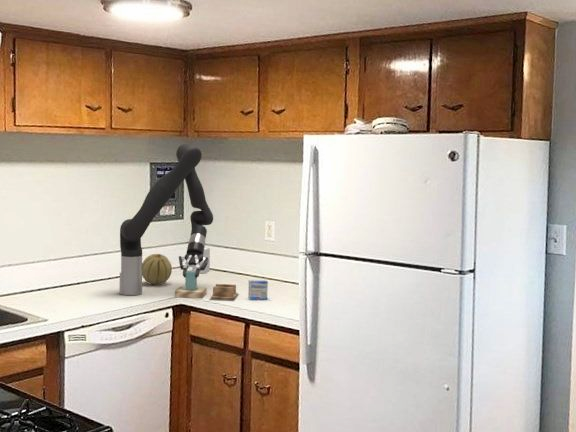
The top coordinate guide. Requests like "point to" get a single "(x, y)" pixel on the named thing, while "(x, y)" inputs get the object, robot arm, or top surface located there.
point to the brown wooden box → (224, 292)
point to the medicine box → (258, 289)
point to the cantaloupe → (156, 269)
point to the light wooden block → (190, 293)
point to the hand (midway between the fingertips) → (190, 276)
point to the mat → (224, 300)
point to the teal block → (190, 281)
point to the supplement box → (205, 254)
